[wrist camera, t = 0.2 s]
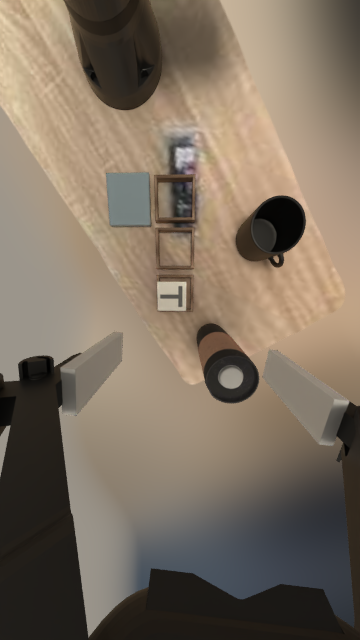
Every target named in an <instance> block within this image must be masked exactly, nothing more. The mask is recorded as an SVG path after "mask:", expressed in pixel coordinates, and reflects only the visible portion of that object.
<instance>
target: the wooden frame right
mask: <svg viewBox="0 0 360 640" xmlns="http://www.w3.org/2000/svg"><path fill="white" fill-rule="evenodd" d="M193 277H194V275H157V282H160V278H191V309H186V311H160V312H193ZM157 309H158V297H157Z"/></svg>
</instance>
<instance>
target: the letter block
mask: <svg viewBox="0 0 360 640" xmlns="http://www.w3.org/2000/svg"><path fill="white" fill-rule="evenodd" d="M157 297H158V311H186V282H157Z"/></svg>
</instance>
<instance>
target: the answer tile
mask: <svg viewBox="0 0 360 640" xmlns="http://www.w3.org/2000/svg"><path fill="white" fill-rule="evenodd" d="M106 179H107V193H108V206H109V219H110V226H112V227H148V226H151V207H150V175H149V173H106Z"/></svg>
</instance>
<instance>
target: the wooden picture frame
mask: <svg viewBox="0 0 360 640" xmlns="http://www.w3.org/2000/svg"><path fill="white" fill-rule="evenodd" d="M158 182H193V189H192V217H186V218H159V214H158ZM154 186H155V221H156V223H194V220H195V174H191V175H154Z"/></svg>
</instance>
